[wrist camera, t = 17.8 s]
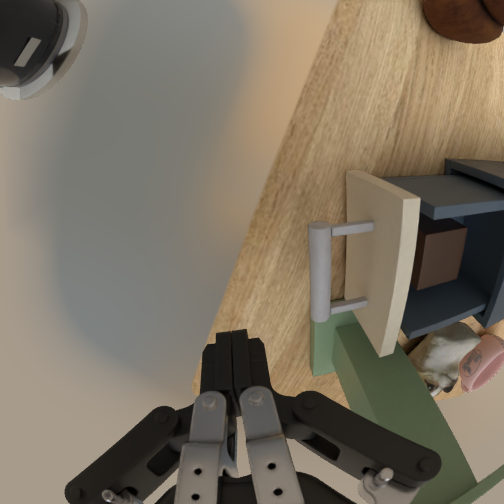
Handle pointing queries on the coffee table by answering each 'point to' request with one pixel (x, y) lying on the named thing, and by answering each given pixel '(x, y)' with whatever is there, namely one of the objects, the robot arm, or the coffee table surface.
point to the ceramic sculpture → (443, 356)
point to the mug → (482, 362)
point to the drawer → (407, 254)
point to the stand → (395, 403)
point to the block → (437, 251)
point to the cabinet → (500, 302)
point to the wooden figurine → (466, 19)
